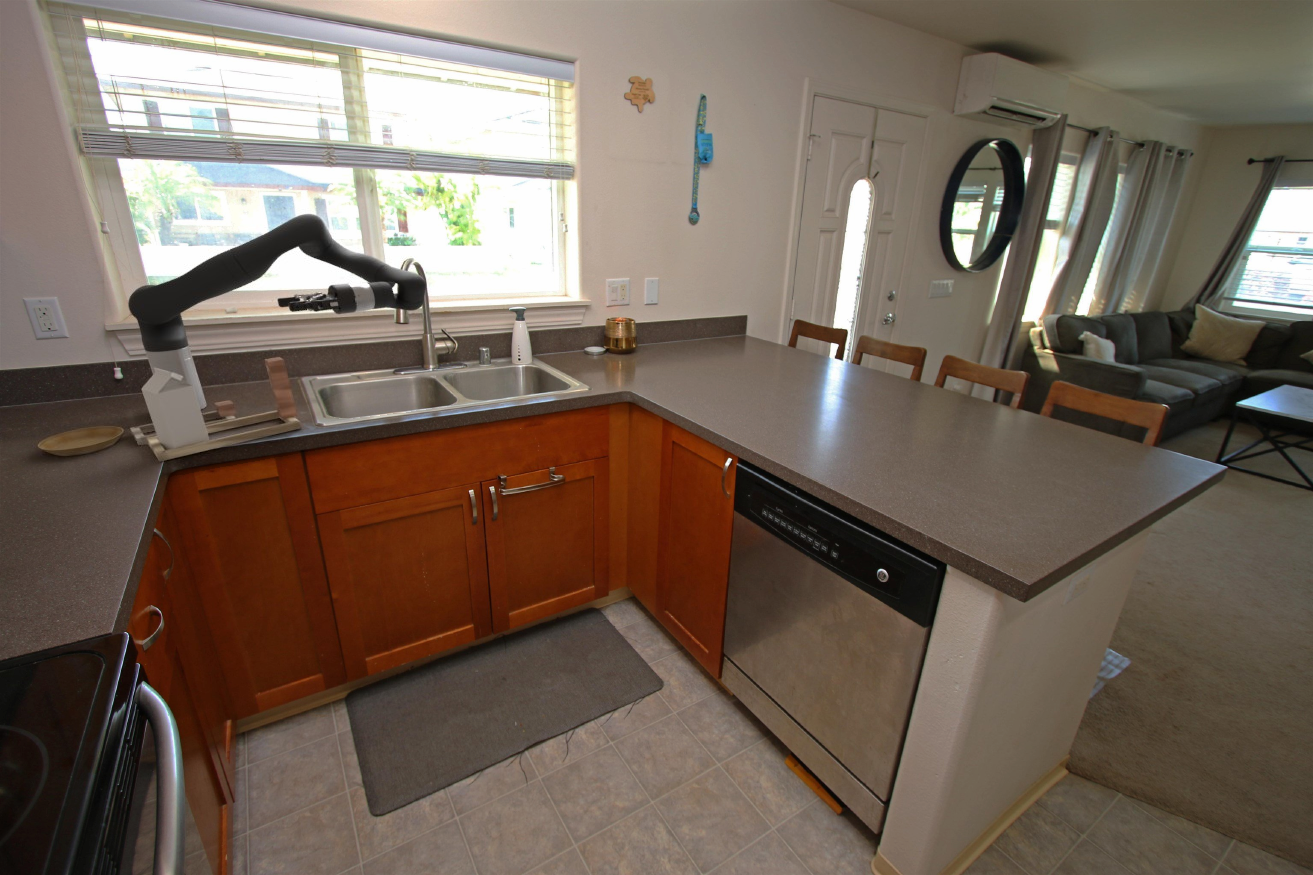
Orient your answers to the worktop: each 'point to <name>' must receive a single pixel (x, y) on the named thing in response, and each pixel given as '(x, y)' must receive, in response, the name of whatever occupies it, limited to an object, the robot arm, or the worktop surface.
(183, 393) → the milk carton
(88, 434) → the plant saucer
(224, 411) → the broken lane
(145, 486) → the worktop surface
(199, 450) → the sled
